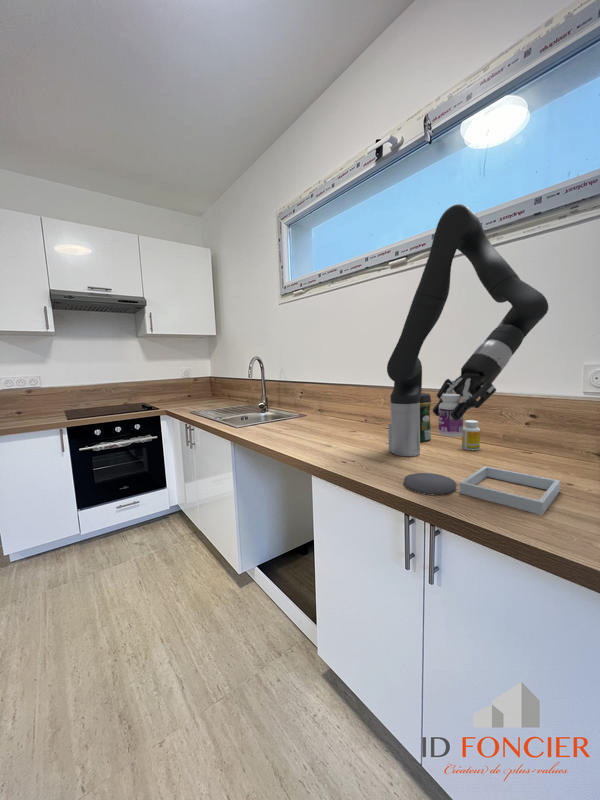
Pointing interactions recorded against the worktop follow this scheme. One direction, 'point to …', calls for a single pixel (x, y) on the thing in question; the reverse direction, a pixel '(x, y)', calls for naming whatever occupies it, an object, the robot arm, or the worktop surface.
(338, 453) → the worktop surface
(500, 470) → the grey tray
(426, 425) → the coffee jar
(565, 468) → the worktop surface
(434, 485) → the charcoal mat
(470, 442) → the supplement bottle
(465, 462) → the worktop surface
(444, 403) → the pill bottle
